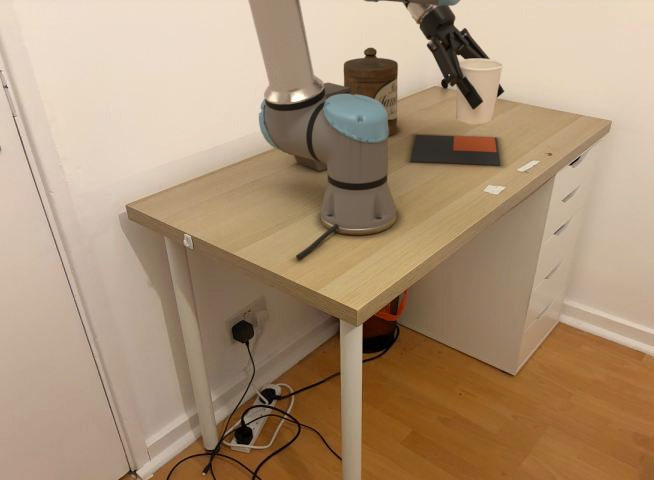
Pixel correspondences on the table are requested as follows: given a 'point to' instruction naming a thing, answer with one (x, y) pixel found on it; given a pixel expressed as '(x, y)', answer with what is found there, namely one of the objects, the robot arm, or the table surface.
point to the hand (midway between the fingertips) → (489, 100)
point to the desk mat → (455, 150)
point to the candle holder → (479, 90)
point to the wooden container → (375, 82)
